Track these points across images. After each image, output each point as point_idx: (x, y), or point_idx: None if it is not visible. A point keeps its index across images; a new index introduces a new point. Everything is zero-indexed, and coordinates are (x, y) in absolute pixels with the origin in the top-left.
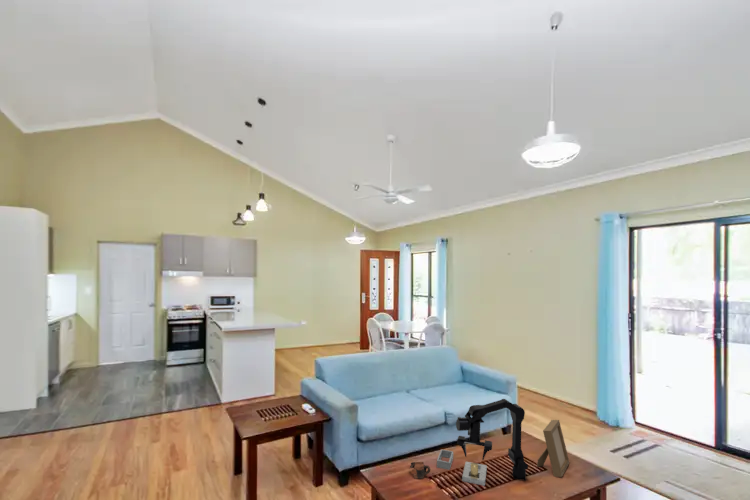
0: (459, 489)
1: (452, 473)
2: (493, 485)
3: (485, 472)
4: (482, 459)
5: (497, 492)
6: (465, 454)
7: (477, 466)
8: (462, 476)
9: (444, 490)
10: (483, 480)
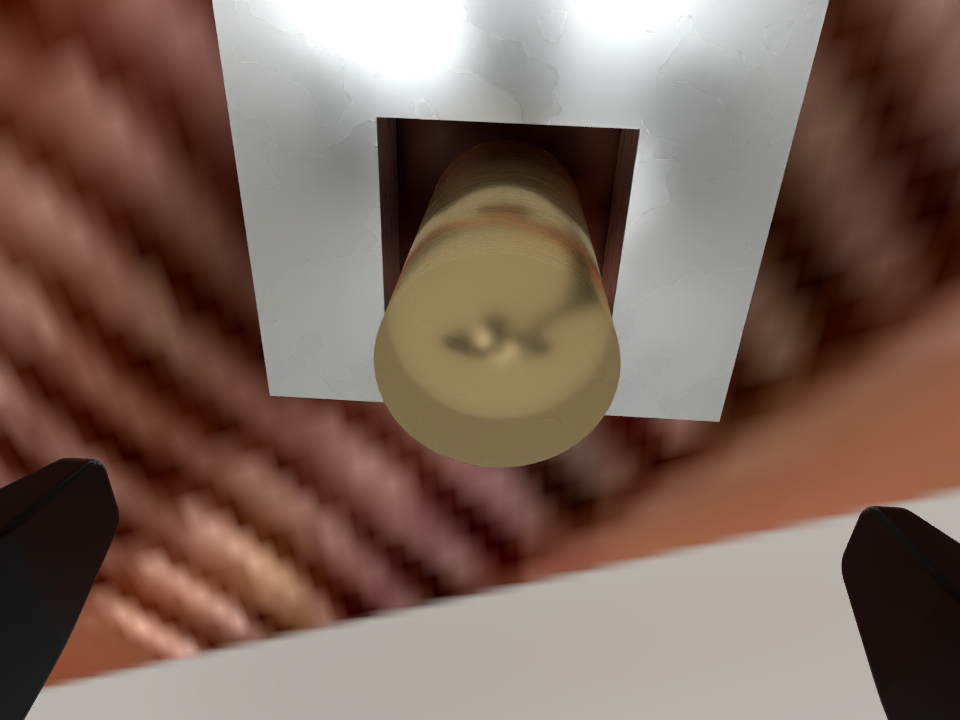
0: (309, 558)
1: (37, 130)
2: (871, 312)
3: (811, 23)
4: (855, 614)
5: (878, 487)
6: (17, 686)
7: (592, 420)
8: (272, 395)
9: (138, 618)
10: (691, 410)
